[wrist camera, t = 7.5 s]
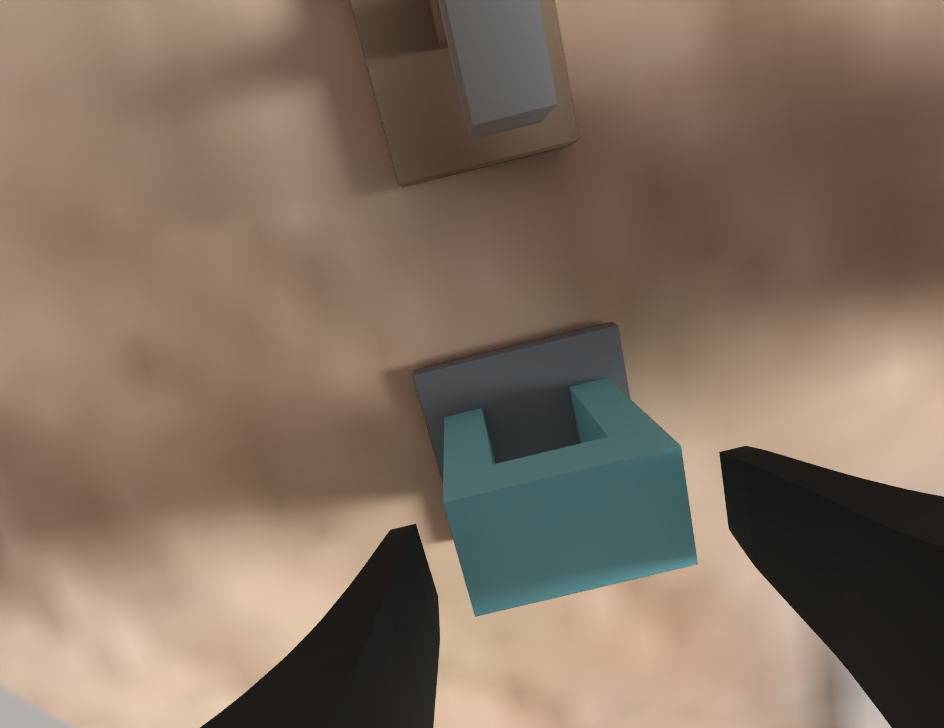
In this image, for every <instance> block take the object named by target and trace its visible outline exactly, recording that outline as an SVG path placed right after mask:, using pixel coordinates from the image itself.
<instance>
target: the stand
mask: <svg viewBox="0 0 944 728" xmlns="http://www.w3.org/2000/svg"><path fill="white" fill-rule="evenodd" d="M350 3H351V7H352V10H353V14H354V18H355V22H356V26H357V29H358V33H359V37H360V41H361V45H362V48H363V52H364V56H365V60H366V64H367V67H368V71H369V75H370V79H371V83H372V86H373V90H374V94H375V98H376V101H377V105H378V109H379V113H380V117H381V120H382V124H383V128H384V132H385V136H386V139H387V143H388V147H389V151H390V155H391V158H392V162H393V166H394V170H395V174H396V177H397V181H398V184H399V185H400V186H401V187H405V186H409V185H413V184H417V183H421V182H425V181H429V180H433V179H437V178H441V177H445V176H449V175H453V174H457V173H461V172H465V171H469V170H473V169H477V168H481V167H485V166H489V165H493V164H497V163H501V162H505V161H509V160H513V159H517V158H521V157H525V156H529V155H533V154H537V153H541V152H544V151H548V150H552V149H556V148H560V147H564V146H568V145H571V144H572V143H574V142H575V141H577V140H578V139H579V137H578V132H577V126H576V120H575V114H574V108H573V103H572V97H571V91H570V85H569V79H568V74H567V68H566V62H565V56H564V50H563V45H562V39H561V33H560V27H559V21H558V16H557V10H556V4H555V0H350Z"/></svg>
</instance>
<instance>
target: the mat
mask: <svg viewBox="0 0 944 728" xmlns="http://www.w3.org/2000/svg"><path fill="white" fill-rule="evenodd" d="M413 378H414V382H415V385H416V389H417V392H418V396H419V399H420V403H421V406H422V410H423V413H424V417H425V421H426V424H427V428H428V431H429V435H430V438H431V442H432V445H433V449H434V452H435V456H436V459H437V463H438V467H439V470H440V474H441V477H442V481H443V467H444V417H447V416H451V415H455V414H459V413H463V412H468V411H472V410H476V409H480V408H482V411H483V415H484V419H485V423H486V427H487V431H488V435H489V439H490V443H491V447H492V451H493V455H494V459H495V463H496V464H497V463H502V462H506V461H510V460H514V459H518V458H522V457H527V456H531V455H535V454H539V453H543V452H547V451H552V450H556V449H560V448H564V447H568V446H572V445H577V444H581V443H580V438H579V433H578V428H577V423H576V418H575V413H574V408H573V403H572V398H571V393H570V388H569V387H571V386H575V385H579V384H583V383H587V382H592V381H596V380H600V379H604V378H608V379H609V380H610V381H611V382H612V383H613V384H614V385H615V386H616V387H618V388H619V389H620V390H621V391H622V392H623V393H624V394H625V395H626V396H627V397H628V398H630V395H629V389H628V383H627V377H626V371H625V365H624V359H623V354H622V348H621V342H620V336H619V330H618V325H616V324H615V323H613V322H609V323H605V324H601V325H597V326H593V327H589V328H585V329H580V330H576V331H572V332H568V333H564V334H560V335H556V336H552V337H548V338H544V339H540V340H536V341H532V342H527V343H523V344H519V345H515V346H511V347H507V348H503V349H499V350H495V351H491V352H487V353H483V354H478V355H474V356H470V357H466V358H462V359H458V360H454V361H450V362H446V363H442V364H438V365H434V366H430V367H425V368H421V369H417V370H414V372H413Z"/></svg>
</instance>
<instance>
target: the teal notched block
mask: <svg viewBox="0 0 944 728" xmlns="http://www.w3.org/2000/svg"><path fill="white" fill-rule="evenodd" d="M569 388H570V393H571V398H572V403H573V408H574V413H575V418H576V423H577V428H578V433H579V438H580V443H581V444H577V445H572V446H568V447H564V448H560V449H556V450H552V451H547V452H543V453H539V454H535V455H531V456H527V457H522V458H518V459H514V460H510V461H506V462H502V463H497V464H496V463H495V459H494V455H493V451H492V447H491V443H490V439H489V435H488V431H487V427H486V423H485V419H484V415H483V411H482V408H480V409H476V410H472V411H468V412H463V413H459V414H455V415H451V416H447V417H444V467H443V505H444V508H445V512H446V516H447V519H448V523H449V526H450V530H451V533H452V537H453V540H454V544H455V547H456V551H457V554H458V558H459V561H460V565H461V568H462V572H463V575H464V579H465V582H466V586H467V589H468V593H469V596H470V600H471V604H472V607H473V611H474V614H475V617H476V616H480V615H484V614H489V613H493V612H497V611H501V610H506V609H510V608H514V607H518V606H523V605H527V604H531V603H535V602H540V601H544V600H548V599H552V598H557V597H561V596H565V595H569V594H574V593H578V592H582V591H586V590H591V589H595V588H599V587H603V586H608V585H612V584H616V583H620V582H625V581H629V580H633V579H637V578H642V577H646V576H650V575H654V574H659V573H663V572H667V571H671V570H676V569H680V568H684V567H688V566H693V565H697V564H698V562H697V555H696V548H695V541H694V534H693V527H692V520H691V513H690V506H689V499H688V492H687V485H686V478H685V471H684V464H683V457H682V450H681V445H680V444H679V443H677V442H676V441H675V440H674V439H673V438H672V437H671V436H670V435H669V434H668V433H667V432H665V431H664V430H663V429H662V428H661V427H660V426H659V425H658V424H657V423H656V422H655V421H654V420H652V419H651V418H650V417H649V416H648V415H647V414H646V413H645V412H644V411H643V410H642V409H640V408H639V407H638V406H637V405H636V404H635V403H634V402H633V401H632V400H631V399H630V398H628V397H627V396H626V395H625V394H624V393H623V392H622V391H621V390H620V389H619V388H618V387H616V386H615V385H614V384H613V383H612V382H611V381H610V380H609V379H608V378H604V379H600V380H596V381H592V382H587V383H583V384H579V385H575V386H571V387H569Z"/></svg>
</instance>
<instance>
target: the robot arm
mask: <svg viewBox="0 0 944 728" xmlns="http://www.w3.org/2000/svg"><path fill="white" fill-rule="evenodd" d="M719 453H720V461H721V469H722V477H723V485H724V493H725V501H726V509H727V517H728V525H729V530H730V531H731V533H732V534H733V536H734V537H735V539H736V540H737V542H738V543H739V545H740V546H741V547H742V549H743V550H744V552H745V553H746V555H747V556H748V557H749V559H750V560H751V561H752V563H753V564H754V566H755V567H756V568H757V569H758V570H759V571H760V573H761V574H762V575H763V576H764V577H765V578H766V579H767V580H768V581H769V583H770V584H771V585H772V586H773V587H774V588H775V589H776V590H777V591H778V593H779V594H780V595H781V596H782V597H783V598H784V599H785V600H786V601H787V602H788V604H789V605H790V606H791V607H792V608H793V609H794V610H795V611H796V612H797V613H798V614H799V616H800V617H801V618H802V619H803V620H804V621H805V622H806V623H807V624H808V625H809V626H810V628H811V629H812V630H813V631H814V632H815V633H816V634H817V635H818V636H819V637H820V638H821V640H822V641H823V642H824V643H825V644H826V645H827V646H828V647H829V648H830V649H831V650H832V652H833V653H834V654H835V655H836V656H837V658H838V659H839V660H840V661H841V662H842V663H843V665H844V666H845V667H846V668H847V669H848V670H849V672H850V673H851V674H852V676H853V677H854V678H855V680H856V681H857V682H858V683H859V685H860V686H861V687H862V689H863V690H864V691H865V693H866V694H867V695H868V697H869V698H870V699H871V701H872V702H873V703H874V704H875V706H876V707H877V708H878V710H879V711H880V712H881V714H882V715H883V716H884V718H885V719H886V720H887V722H888V723H889V724H890V726H891V727H892V728H944V497H942V496H937V495H932V494H927V493H921V492H917V491H912V490H907V489H903V488H898V487H894V486H890V485H886V484H882V483H878V482H874V481H870V480H866V479H862V478H859V477H855V476H851V475H848V474H844V473H840V472H837V471H833V470H830V469H827V468H823V467H820V466H816V465H813V464H810V463H806V462H803V461H800V460H796V459H793V458H790V457H786V456H783V455H780V454H776V453H773V452H769V451H766V450H762V449H758V448H753V447H749V446H743V447H739V448H735V449H731V450H726V451H722V452H719ZM439 645H440V627H439V606H438V595H437V592H436V588H435V585H434V582H433V579H432V575H431V572H430V569H429V565H428V562H427V559H426V556H425V552H424V549H423V546H422V543H421V539H420V536H419V533H418V529H417V526H416V524H413V525H409V526H405V527H400V528H396V529H392V530H390V531H389V533H388V534H387V535H386V536H385V538H384V539H383V541H382V542H381V543H380V545H379V546H378V548H377V549H376V550H375V552H374V553H373V555H372V556H371V557H370V559H369V560H368V562H367V563H366V564H365V566H364V567H363V568H362V570H361V571H360V572H359V574H358V575H357V576H356V578H355V579H354V580H353V582H352V583H351V584H350V586H349V587H348V588H347V589H346V591H345V592H344V593H343V594H342V595H341V597H340V598H339V599H338V600H337V602H336V603H335V604H334V605H333V606H332V608H331V609H330V610H329V611H328V612H327V614H326V615H325V616H324V617H323V618H322V620H321V621H320V622H319V623H318V624H317V625H316V626H315V627H314V628H313V629H312V631H311V632H310V633H309V634H308V635H307V636H306V637H305V638H304V639H303V640H302V641H301V642H300V643H299V644H298V645H297V646H296V647H295V648H294V649H293V650H292V651H291V652H290V653H289V654H288V655H287V656H286V657H285V658H284V659H283V660H282V661H281V662H279V663H278V664H277V665H276V666H275V667H274V668H273V669H272V670H270V671H269V672H268V673H267V674H266V675H265V676H264V677H262V678H261V679H260V680H259V681H258V682H257V683H256V684H255V685H253V686H252V687H251V688H250V689H249V690H248V691H247V692H246V693H244V694H243V695H242V696H241V697H239V698H238V699H237V700H236V701H234V702H233V703H232V704H231V705H229V706H228V707H227V708H226V709H224V710H223V711H222V712H220V713H219V714H218V715H217V716H215V717H214V718H213V719H211V720H210V721H209V722H207V723H206V724H204V725H203V726H202V727H200V728H433V723H434V710H435V697H436V685H437V672H438V659H439Z"/></svg>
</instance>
